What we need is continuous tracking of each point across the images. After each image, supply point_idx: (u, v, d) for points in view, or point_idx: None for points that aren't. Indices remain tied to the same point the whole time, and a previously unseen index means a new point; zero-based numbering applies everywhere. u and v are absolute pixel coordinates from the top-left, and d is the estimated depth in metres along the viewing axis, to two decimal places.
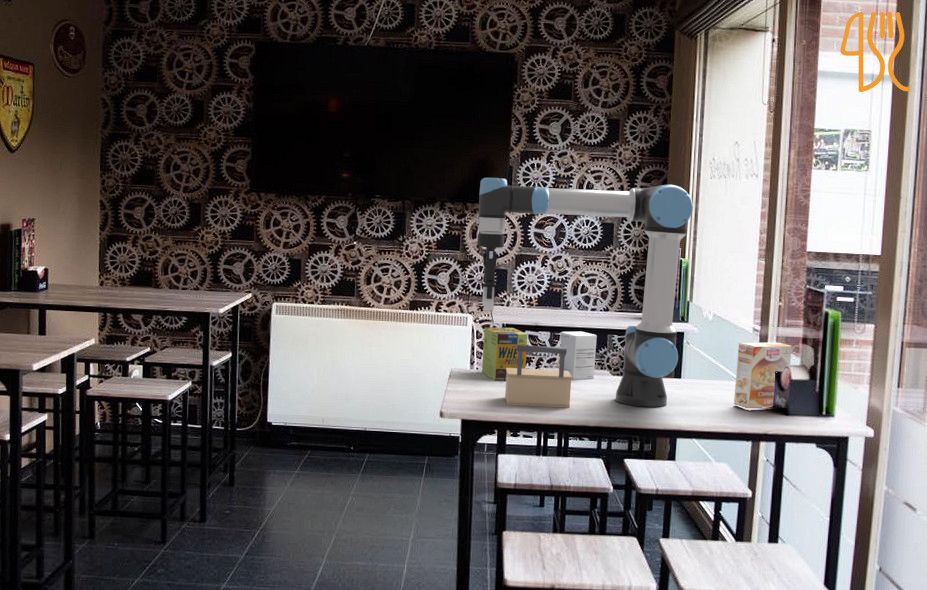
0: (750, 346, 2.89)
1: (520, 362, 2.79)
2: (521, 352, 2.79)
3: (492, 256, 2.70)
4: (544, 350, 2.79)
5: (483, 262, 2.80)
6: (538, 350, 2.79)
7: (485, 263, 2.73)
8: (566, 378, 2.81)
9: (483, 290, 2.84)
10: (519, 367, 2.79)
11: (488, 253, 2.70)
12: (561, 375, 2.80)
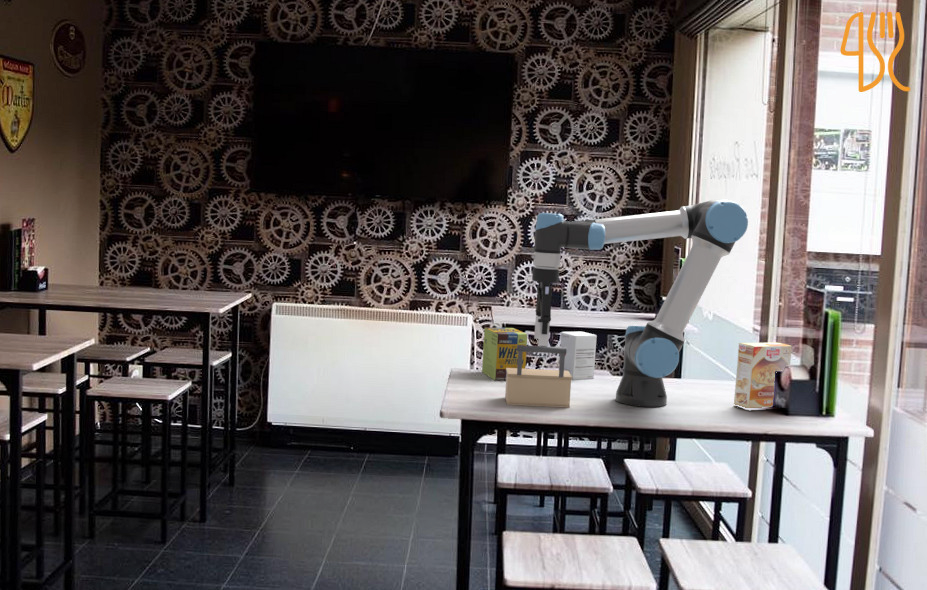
0: (750, 346, 2.89)
1: (520, 362, 2.79)
2: (521, 352, 2.79)
3: (548, 292, 2.71)
4: (544, 350, 2.79)
5: (537, 296, 2.81)
6: (538, 350, 2.79)
7: (540, 298, 2.74)
8: (566, 378, 2.81)
9: (535, 324, 2.85)
10: (519, 367, 2.79)
11: (544, 288, 2.71)
12: (561, 375, 2.80)
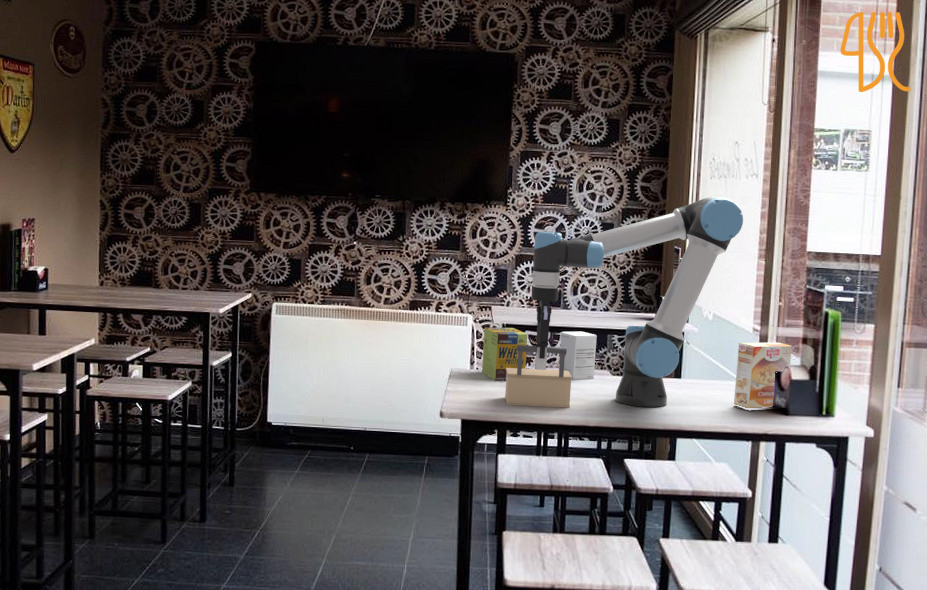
0: (750, 346, 2.89)
1: (520, 362, 2.79)
2: (521, 352, 2.79)
3: (547, 318, 2.73)
4: None
5: (537, 317, 2.80)
6: None
7: (539, 320, 2.76)
8: (566, 378, 2.81)
9: (536, 353, 2.80)
10: (519, 367, 2.79)
11: (543, 315, 2.72)
12: (561, 375, 2.80)
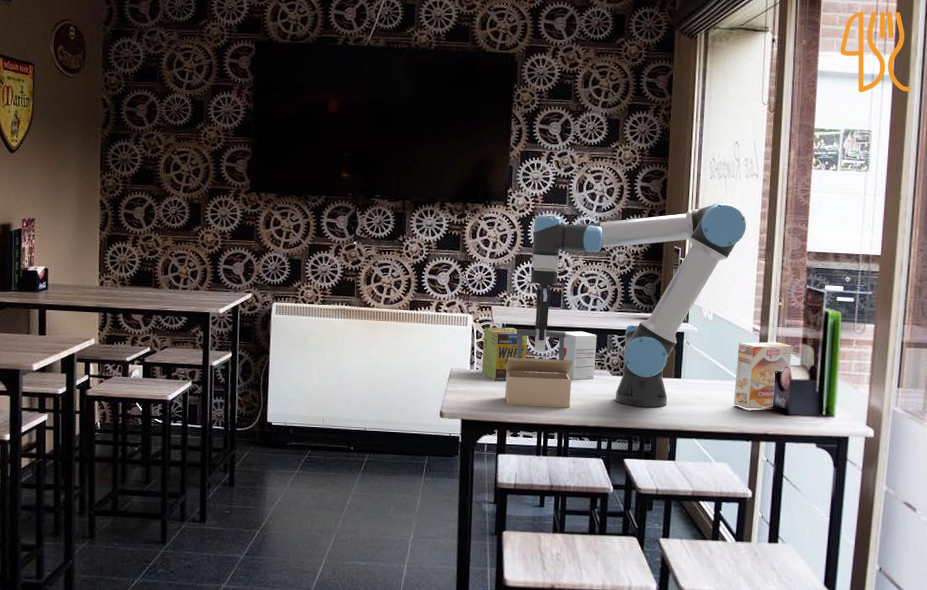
0: (750, 346, 2.89)
1: (520, 344, 2.82)
2: (521, 335, 2.83)
3: (546, 300, 2.77)
4: None
5: (536, 300, 2.85)
6: None
7: (538, 302, 2.81)
8: (566, 361, 2.82)
9: (536, 335, 2.85)
10: (520, 349, 2.81)
11: (542, 297, 2.77)
12: (561, 357, 2.81)
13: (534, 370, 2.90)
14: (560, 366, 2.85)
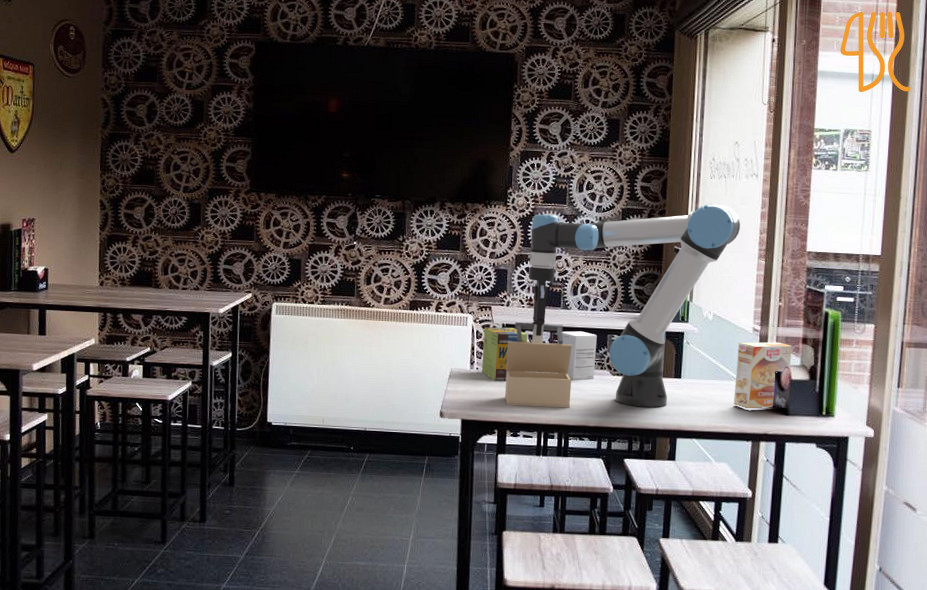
0: (750, 346, 2.89)
1: (519, 331, 2.88)
2: (519, 326, 2.91)
3: (543, 296, 2.85)
4: None
5: (534, 296, 2.92)
6: None
7: (536, 299, 2.89)
8: (566, 345, 2.86)
9: (533, 330, 2.93)
10: (519, 334, 2.87)
11: (540, 294, 2.85)
12: (560, 340, 2.86)
13: (534, 369, 2.90)
14: (560, 355, 2.87)
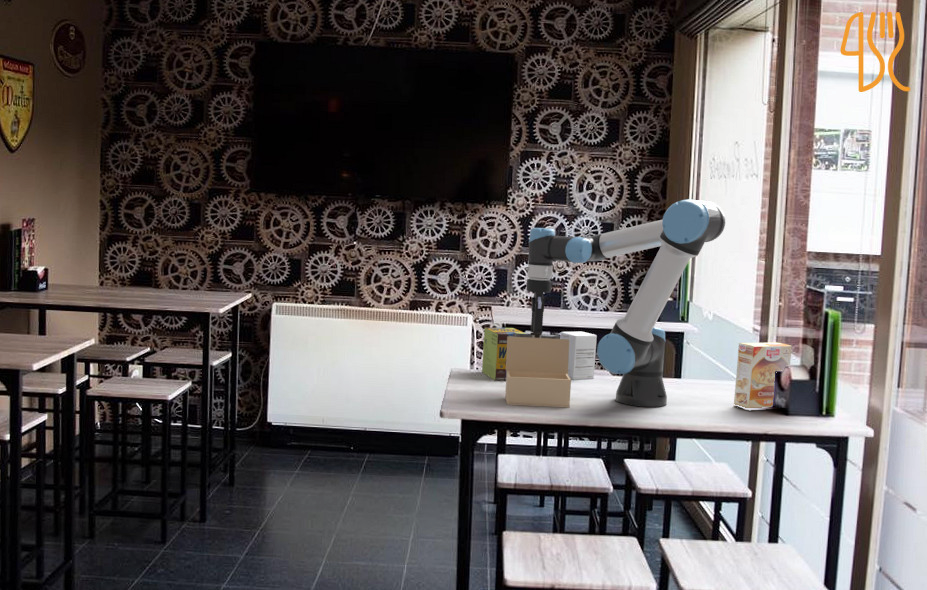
0: (750, 346, 2.89)
1: None
2: (517, 334, 2.99)
3: (540, 307, 2.93)
4: None
5: (531, 307, 3.01)
6: None
7: (533, 310, 2.97)
8: (563, 339, 2.92)
9: None
10: None
11: (537, 304, 2.93)
12: (558, 335, 2.93)
13: (534, 369, 2.91)
14: (558, 351, 2.91)
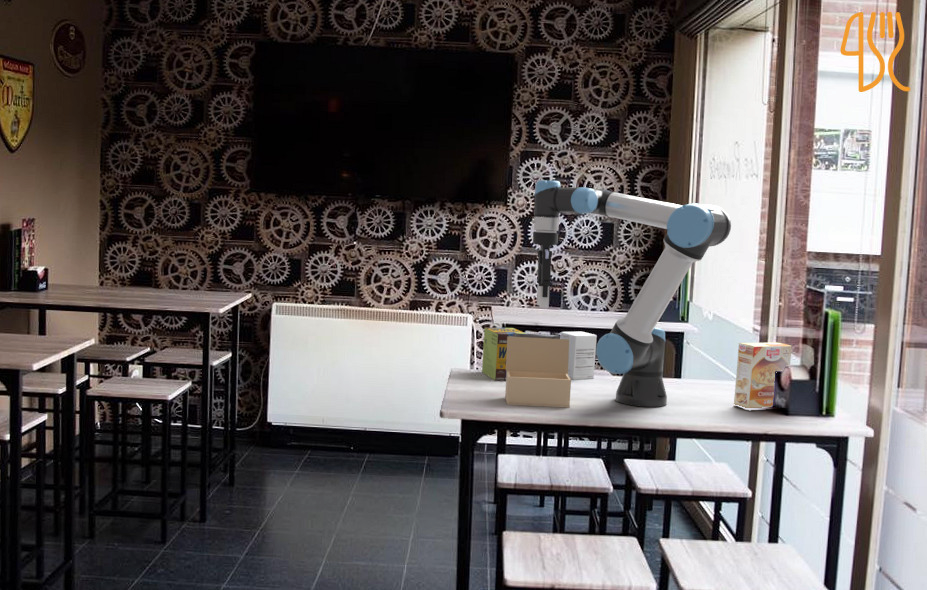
0: (750, 346, 2.89)
1: None
2: (517, 334, 2.99)
3: (548, 256, 2.91)
4: (538, 334, 3.00)
5: (538, 260, 3.00)
6: (533, 334, 3.00)
7: (541, 261, 2.95)
8: (563, 339, 2.92)
9: (537, 291, 3.02)
10: None
11: (544, 254, 2.91)
12: (558, 335, 2.93)
13: (534, 369, 2.91)
14: (558, 351, 2.91)
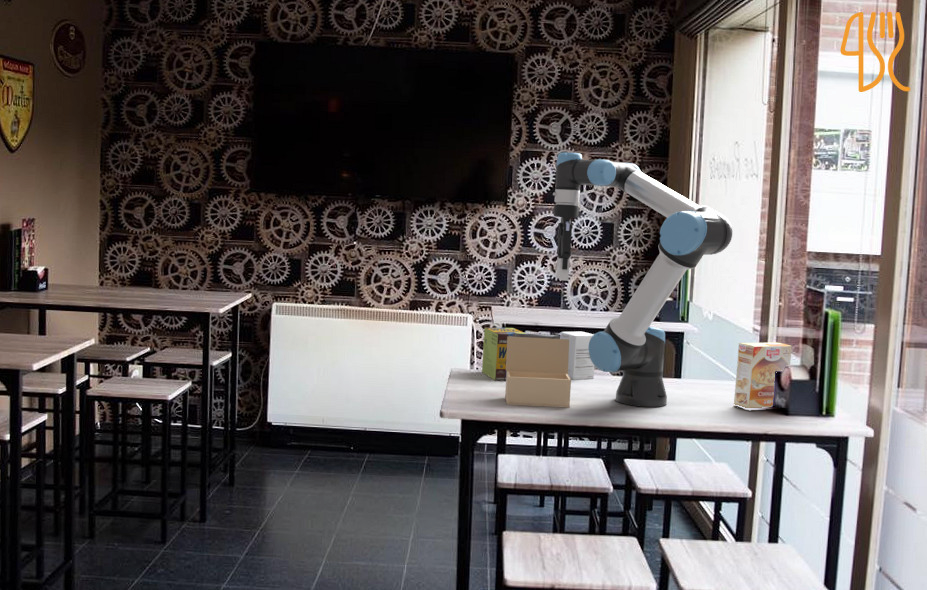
0: (750, 346, 2.89)
1: None
2: (517, 334, 2.99)
3: (569, 229, 2.91)
4: (538, 334, 3.00)
5: (558, 233, 3.00)
6: (533, 334, 3.00)
7: (561, 234, 2.95)
8: (563, 339, 2.92)
9: (557, 264, 3.03)
10: None
11: (565, 226, 2.91)
12: (558, 335, 2.93)
13: (534, 369, 2.91)
14: (558, 351, 2.91)
